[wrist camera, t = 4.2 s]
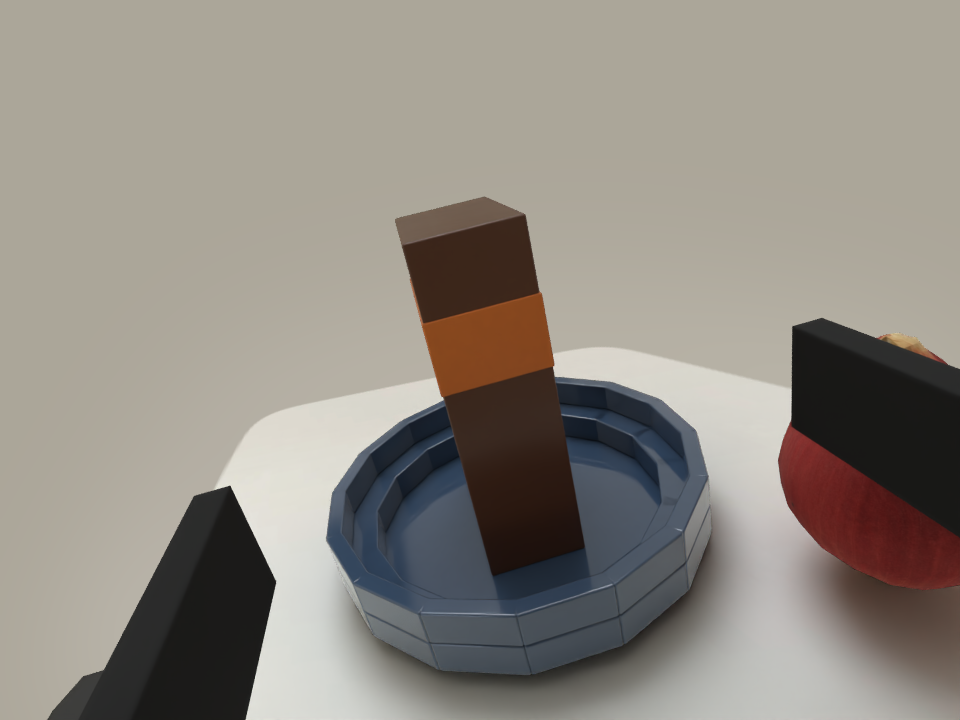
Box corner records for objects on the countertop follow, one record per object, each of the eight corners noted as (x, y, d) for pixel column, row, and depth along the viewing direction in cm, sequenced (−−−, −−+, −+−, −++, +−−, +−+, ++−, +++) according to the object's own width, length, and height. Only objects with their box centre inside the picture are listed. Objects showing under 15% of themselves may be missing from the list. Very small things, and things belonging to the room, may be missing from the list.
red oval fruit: (960, 511, 18) (997, 284, 15) (1071, 669, 13) (1159, 380, 10) (766, 507, 20) (764, 306, 17) (801, 644, 15) (806, 396, 12)
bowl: (614, 402, 30) (608, 352, 28) (804, 602, 17) (805, 525, 15) (357, 476, 28) (339, 427, 27) (342, 754, 15) (306, 682, 14)
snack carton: (540, 459, 25) (486, 195, 21) (587, 548, 20) (527, 213, 15) (465, 481, 25) (393, 218, 20) (491, 578, 19) (399, 245, 15)
